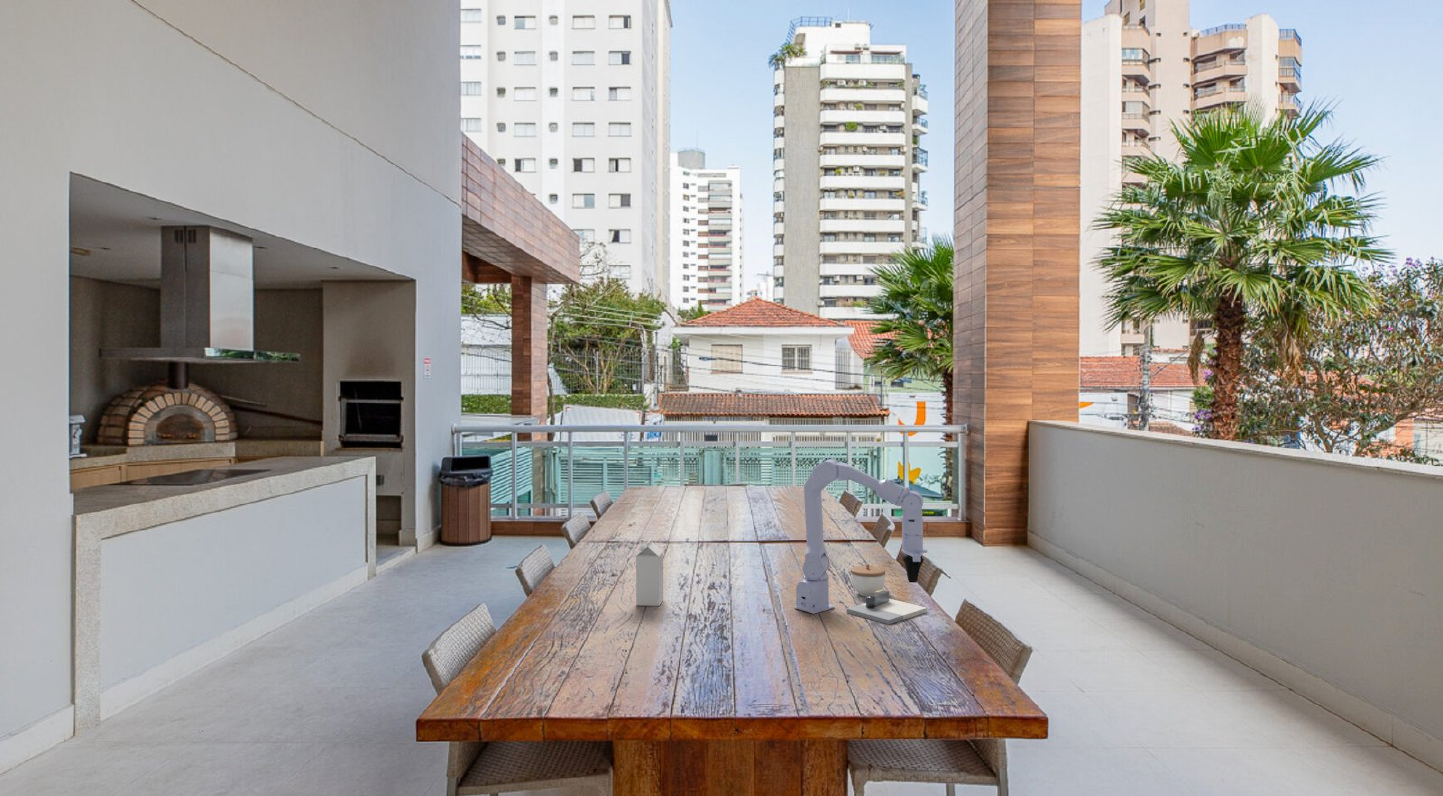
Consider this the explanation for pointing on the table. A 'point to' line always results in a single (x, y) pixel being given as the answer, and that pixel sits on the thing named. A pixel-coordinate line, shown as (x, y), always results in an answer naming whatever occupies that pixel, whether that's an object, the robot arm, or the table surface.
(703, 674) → the table surface
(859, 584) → the lidded jar
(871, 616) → the door board
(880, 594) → the swing bar
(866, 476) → the robot arm
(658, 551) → the milk carton
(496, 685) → the table surface
